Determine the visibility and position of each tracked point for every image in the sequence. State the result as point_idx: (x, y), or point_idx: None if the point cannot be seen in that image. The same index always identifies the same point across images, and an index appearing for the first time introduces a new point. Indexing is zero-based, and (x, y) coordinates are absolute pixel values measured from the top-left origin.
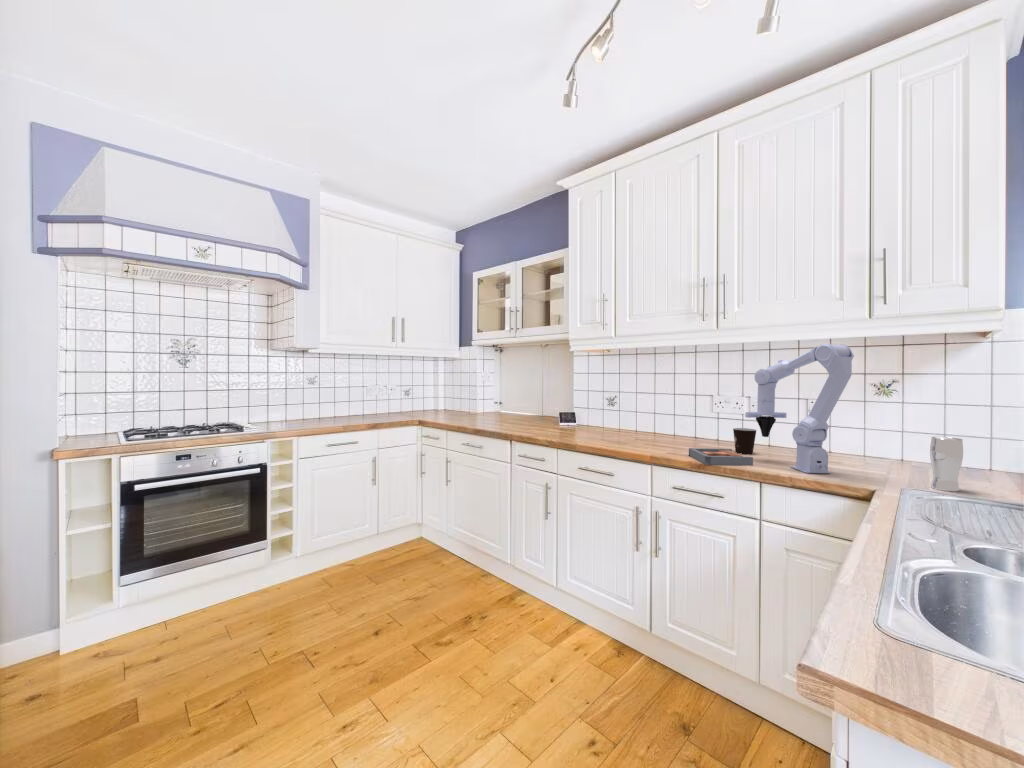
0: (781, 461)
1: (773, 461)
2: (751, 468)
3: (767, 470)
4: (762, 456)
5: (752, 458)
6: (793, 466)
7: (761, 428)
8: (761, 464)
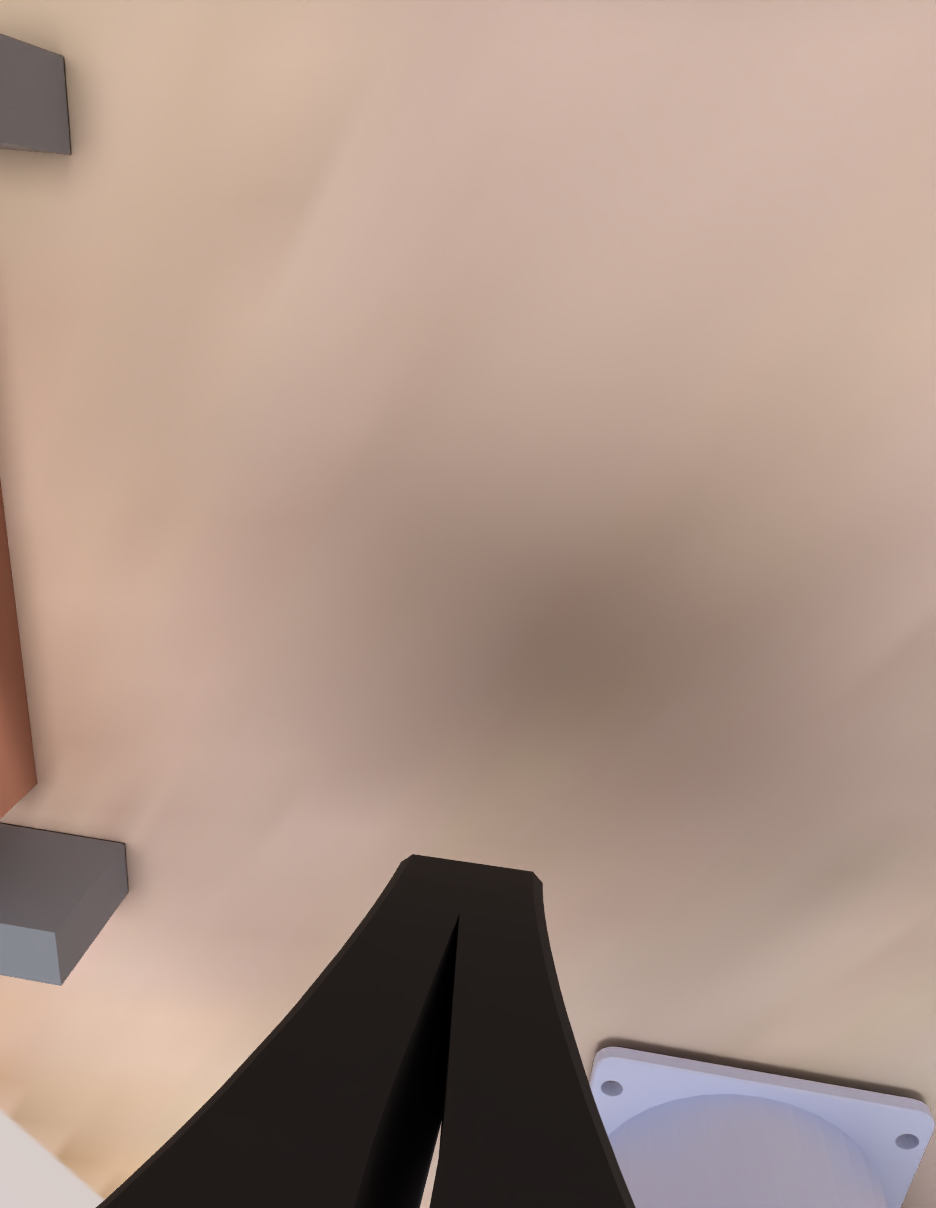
0: (843, 649)
1: (678, 640)
2: (42, 1010)
3: (186, 1108)
4: (870, 58)
5: (63, 968)
6: (621, 1083)
7: (284, 1113)
8: (302, 831)
